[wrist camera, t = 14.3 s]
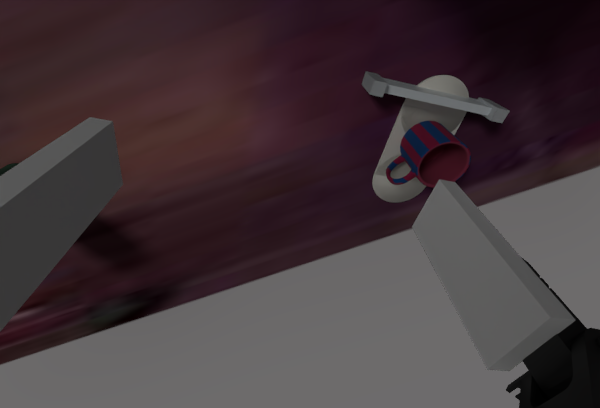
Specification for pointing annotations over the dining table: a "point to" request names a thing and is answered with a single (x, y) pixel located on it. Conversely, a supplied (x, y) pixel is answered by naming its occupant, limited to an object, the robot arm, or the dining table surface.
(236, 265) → the dining table surface
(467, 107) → the divider wall
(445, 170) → the cup
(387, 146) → the pad
